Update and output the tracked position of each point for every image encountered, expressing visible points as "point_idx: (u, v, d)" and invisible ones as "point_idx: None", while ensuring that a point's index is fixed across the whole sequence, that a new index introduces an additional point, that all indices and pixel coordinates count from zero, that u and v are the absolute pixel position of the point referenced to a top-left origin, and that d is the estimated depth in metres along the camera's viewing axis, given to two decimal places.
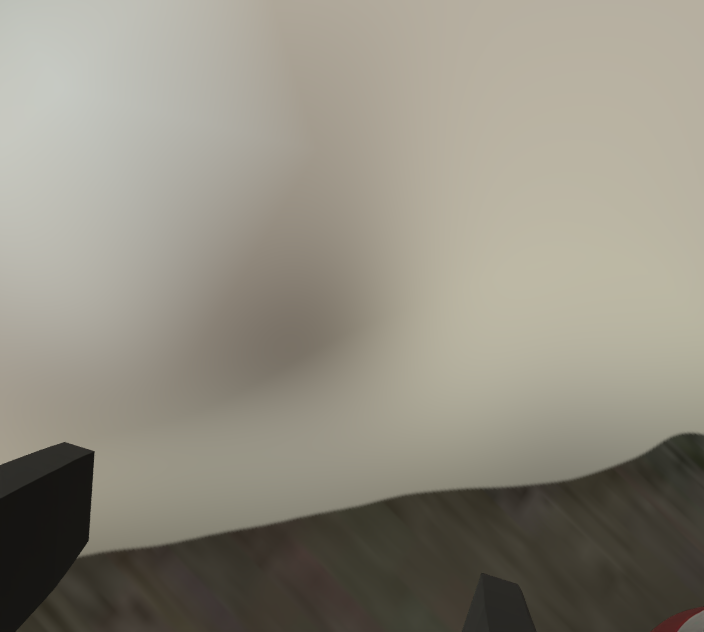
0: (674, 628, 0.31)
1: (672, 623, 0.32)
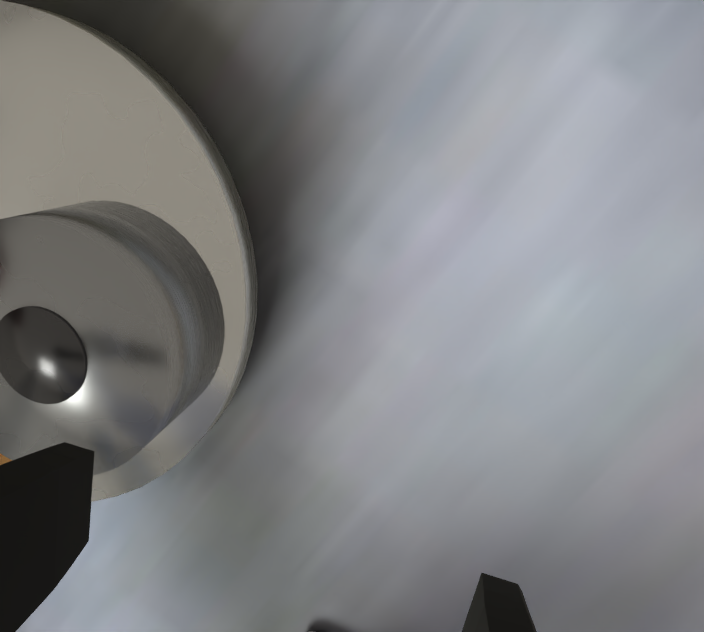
0: None
1: None
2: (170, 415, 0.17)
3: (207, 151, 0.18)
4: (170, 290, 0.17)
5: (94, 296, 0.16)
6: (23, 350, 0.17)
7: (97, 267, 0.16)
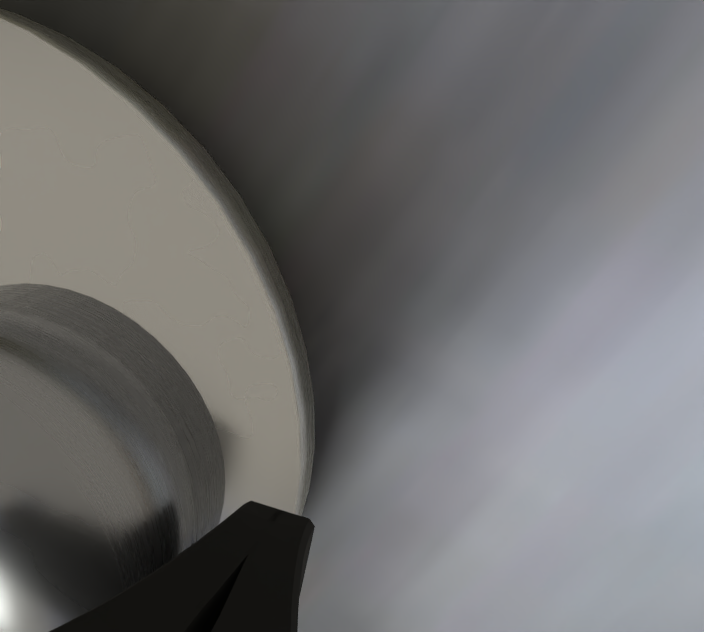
0: None
1: None
2: None
3: (229, 212, 0.11)
4: (125, 450, 0.10)
5: None
6: None
7: None
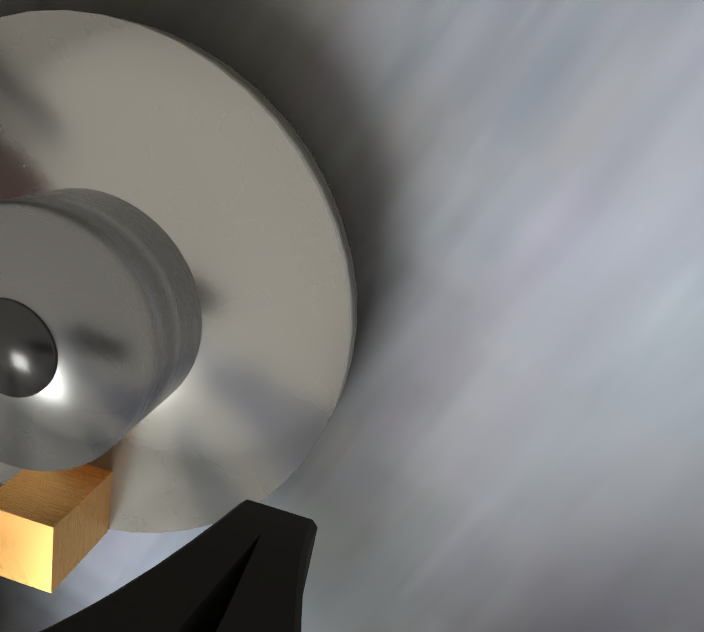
0: None
1: None
2: (146, 404, 0.17)
3: (305, 159, 0.17)
4: (139, 275, 0.16)
5: (59, 284, 0.15)
6: None
7: (61, 254, 0.15)
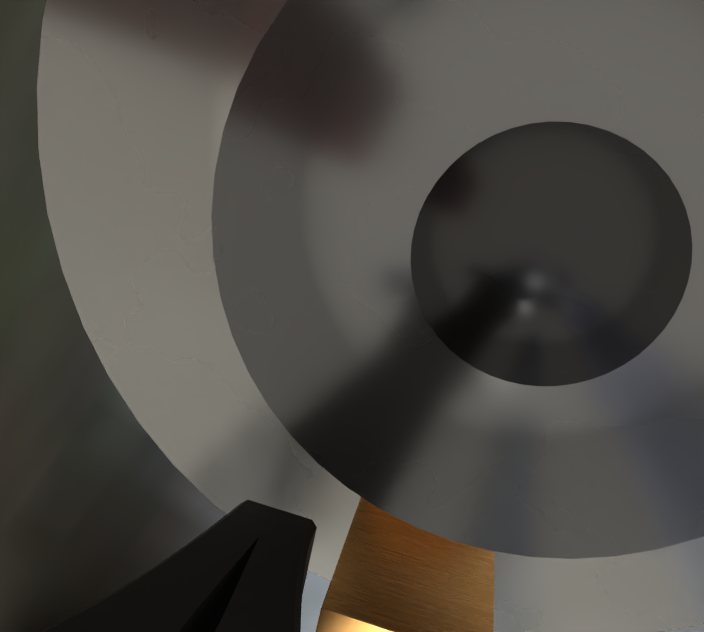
0: None
1: None
2: None
3: None
4: None
5: None
6: (503, 247, 0.06)
7: None
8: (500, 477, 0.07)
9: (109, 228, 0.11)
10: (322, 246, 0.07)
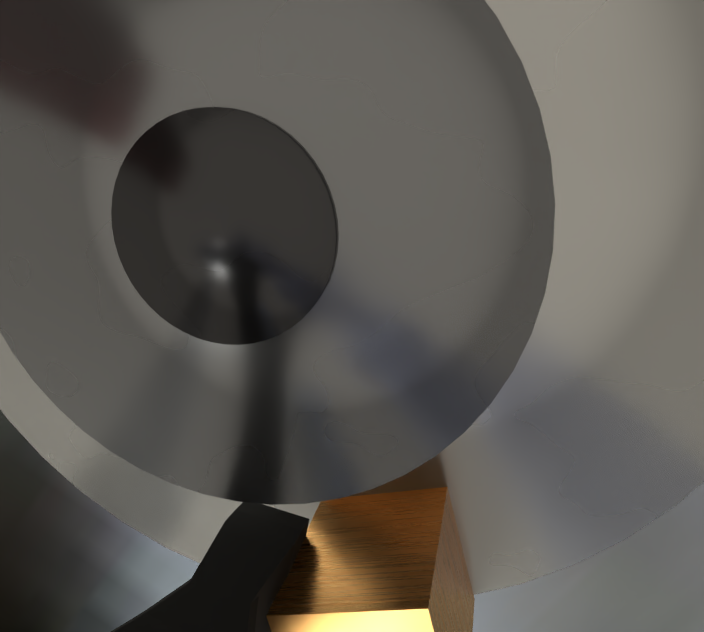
0: None
1: None
2: None
3: None
4: None
5: (279, 2, 0.06)
6: (185, 236, 0.07)
7: None
8: (307, 428, 0.08)
9: None
10: (75, 302, 0.08)
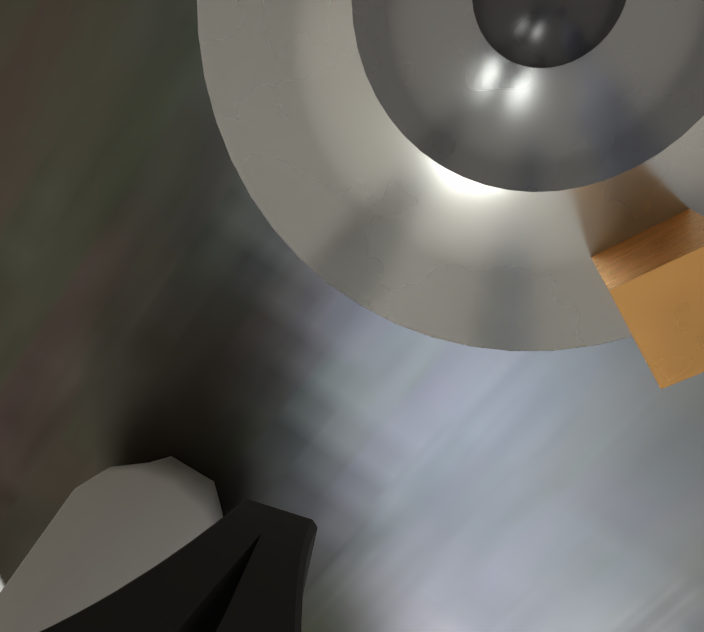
0: None
1: None
2: None
3: None
4: None
5: None
6: None
7: None
8: (626, 109, 0.12)
9: (335, 235, 0.17)
10: (448, 81, 0.12)
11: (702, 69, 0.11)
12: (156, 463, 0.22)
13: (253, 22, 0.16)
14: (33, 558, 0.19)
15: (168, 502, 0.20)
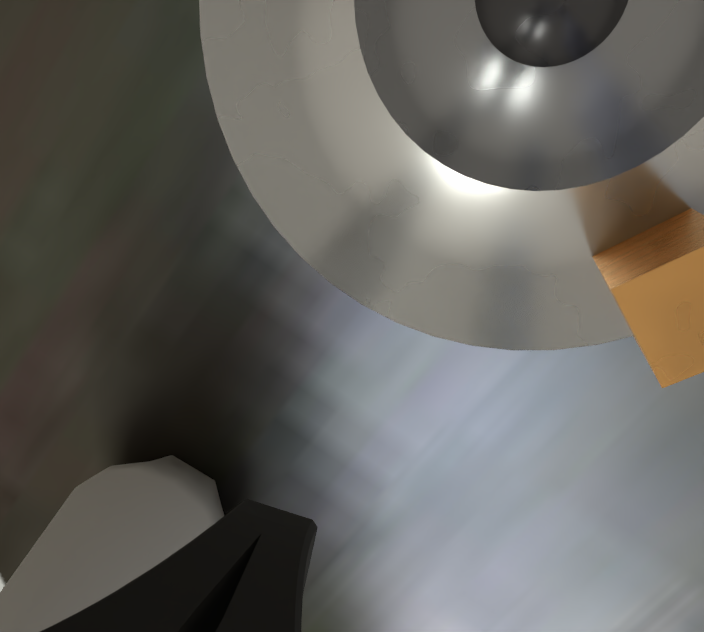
0: None
1: None
2: None
3: None
4: None
5: None
6: None
7: None
8: (628, 108, 0.12)
9: (336, 234, 0.17)
10: (450, 80, 0.12)
11: None
12: (157, 462, 0.22)
13: (255, 21, 0.16)
14: (34, 556, 0.19)
15: (169, 501, 0.20)
